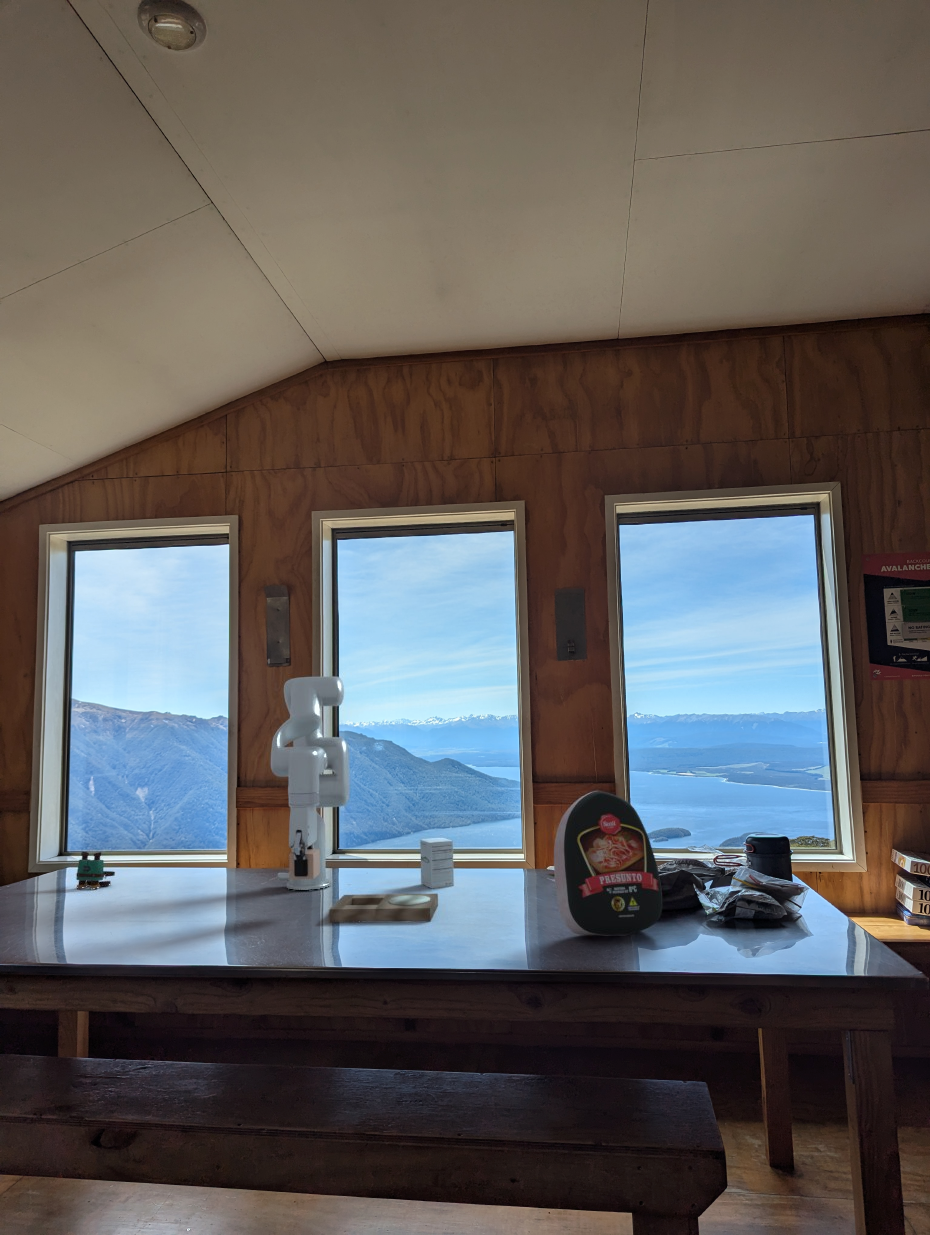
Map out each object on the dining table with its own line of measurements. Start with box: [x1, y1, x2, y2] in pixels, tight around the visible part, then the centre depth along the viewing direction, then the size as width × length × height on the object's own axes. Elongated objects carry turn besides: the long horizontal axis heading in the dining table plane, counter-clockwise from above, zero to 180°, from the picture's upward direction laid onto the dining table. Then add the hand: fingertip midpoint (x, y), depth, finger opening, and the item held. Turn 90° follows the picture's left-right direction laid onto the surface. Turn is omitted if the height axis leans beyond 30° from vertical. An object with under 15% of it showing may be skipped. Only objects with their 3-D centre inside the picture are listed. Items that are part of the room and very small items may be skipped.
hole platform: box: [328, 893, 439, 923], centre depth 207 cm, size 24×16×3 cm, turn 86°
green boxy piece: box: [75, 851, 116, 889], centre depth 253 cm, size 9×11×10 cm
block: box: [288, 849, 320, 879], centre depth 211 cm, size 6×6×6 cm
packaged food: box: [553, 790, 663, 937], centre depth 184 cm, size 22×20×30 cm
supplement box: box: [419, 836, 455, 889], centre depth 241 cm, size 7×7×13 cm
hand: (304, 872), depth 210 cm, fingers closed on block, 6 cm apart
